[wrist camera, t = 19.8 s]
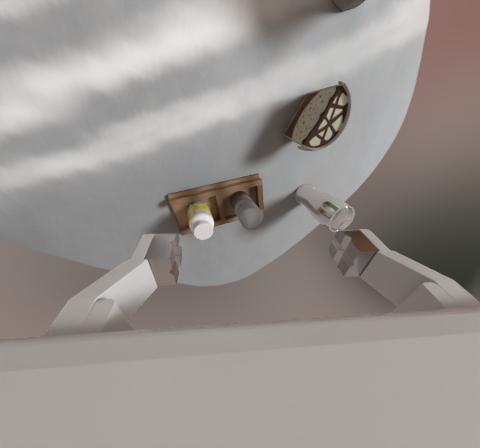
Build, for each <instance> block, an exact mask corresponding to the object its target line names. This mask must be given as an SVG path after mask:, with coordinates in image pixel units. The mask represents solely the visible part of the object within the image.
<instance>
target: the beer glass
mask: <svg viewBox="0 0 480 448" xmlns="http://www.w3.org/2000/svg"><path fill="white" fill-rule="evenodd" d="M295 201H296V202H297V203H298V204H301V205H303V206H305V207H306V208H307V210H308V211H309V212H310V213H311V215H312V216H313V217H314V218H315V219H316V220H317V221H318V222H319V223H321V224H322V225H324V226H325V227H327V228H328V229H330V230H331V231H333V232H337V231H338V230H343V229H345V228H346V227H347V226H348V225H349V224H350V223H351V222H352V220H353V218H354V215H355V211H354V209H353V208H352V207H351V206H349V205H348V204H346V203H345V202H343V201H342V200H340V199H339V198H337V197H335V196H332V195H329V194H326V193H323V192H319V191H317V190H316V189H315V188H314V187H313V186H312V185H310V184H304V185H302V186H300V187H299V188H298V189H297V191H296V193H295Z"/></svg>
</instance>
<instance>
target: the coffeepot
mask: <svg viewBox="0 0 480 448" xmlns="http://www.w3.org/2000/svg"><path fill="white" fill-rule="evenodd" d="M364 1H365V0H333V2H334V4H335V5H336V6H337V7H338V8H340V10H341V11H345V10H348V9H351V8H354V7H357V6H359V5H360V4H361V3H363V2H364Z"/></svg>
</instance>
